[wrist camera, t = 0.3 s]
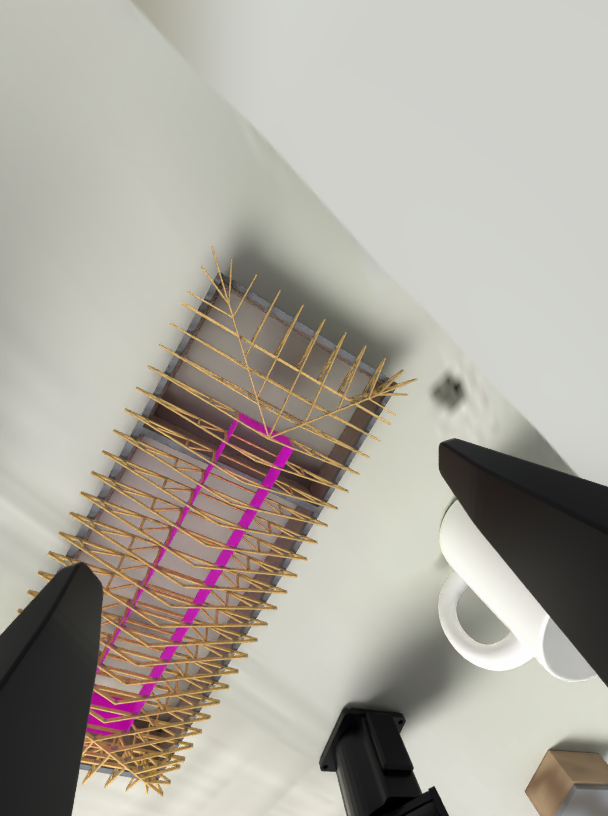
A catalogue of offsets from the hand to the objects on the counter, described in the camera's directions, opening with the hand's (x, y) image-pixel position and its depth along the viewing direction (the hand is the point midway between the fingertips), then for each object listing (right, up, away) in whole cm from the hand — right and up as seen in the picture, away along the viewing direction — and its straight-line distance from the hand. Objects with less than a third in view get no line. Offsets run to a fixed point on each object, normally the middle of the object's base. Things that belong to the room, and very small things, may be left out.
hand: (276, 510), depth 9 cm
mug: (+14, -9, +21) cm, 27 cm away
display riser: (+30, -40, +32) cm, 59 cm away
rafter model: (-8, -7, +17) cm, 20 cm away
